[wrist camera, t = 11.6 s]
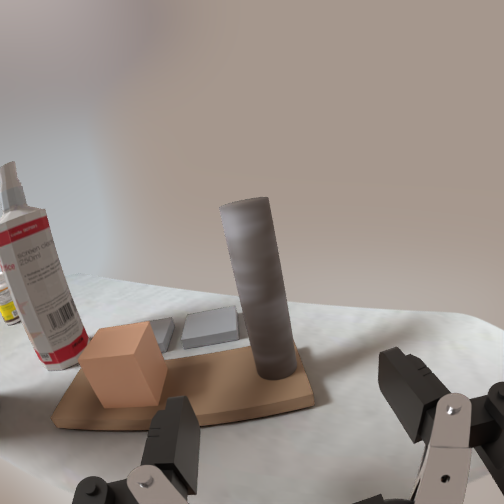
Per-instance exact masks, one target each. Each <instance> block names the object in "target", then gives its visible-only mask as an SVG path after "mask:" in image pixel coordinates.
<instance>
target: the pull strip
mask: <svg viewBox="0 0 504 504" xmlns="http://www.w3.org/2000/svg"><path fill="white" fill-rule="evenodd" d="M219 209H220V214H221V218H222V223H223V228H224V232H225V237H226V241H227V245H228V250H229V255H230V259H231V264H232V268H233V272H234V276H235V281H236V285H237V290H238V294H239V298H240V302H241V307H242V311H243V315H244V319H245V324H246V328H247V332H248V336H249V340H250V344H251V346H248V347H243V348H237V349H232V350H226V351H221V352H215V353H209V354H203V355H197V356H191V357H184V358H177V359H170V360H164V361H165V363H166V365H167V368H168V370H167V374H166V378H165V381H164V385H163V389H162V393H161V397H160V401H159V404H158V406H146V407H128V408H104V407H103V405H102V404H101V402H100V400H99V399H98V397H97V395H96V394H95V392H94V390H93V388H92V387H91V385H90V383H89V381H88V379H87V377H86V376H85V374H84V372H83V370H82V369H80V370H79V372H78V373H77V375H76V376H75V378H74V380H73V381H72V383H71V384H70V386H69V388H68V389H67V391H66V392H65V394H64V396H63V397H62V399H61V401H60V402H59V404H58V406H57V407H56V409H55V411H54V412H53V414H52V416H51V420H52V421H53V423H54V424H55V425H56V427H57V428H69V429H85V430H150V429H149V428H150V424H151V420H152V418H153V417H154V415H155V414H156V413H157V411H158V410H165V407H166V402H167V399H168V398H169V397H177V396H187V397H188V399H189V401H190V404H191V406H192V408H193V410H194V413H195V415H196V417H197V419H198V422H199V426H204V425H212V424H220V423H227V422H234V421H240V420H247V419H252V418H258V417H263V416H269V415H274V414H279V413H283V412H288V411H292V410H297V409H301V408H305V407H309V406H313V405H315V404H314V395H313V391H312V389H311V386H310V383H309V380H308V378H307V375H306V372H305V370H304V367H303V364H302V361H301V359H300V356H299V353H298V350H297V348H296V345H295V342H294V340H293V335H292V329H291V323H290V317H289V311H288V305H287V299H286V293H285V287H284V281H283V276H282V270H281V264H280V259H279V253H278V247H277V242H276V237H275V231H274V226H273V220H272V215H271V210H270V204H269V199H268V197H259V198H251V199H245V200H241V201H237V202H232V203H229V204H225V205H223V206H221V207H219Z"/></svg>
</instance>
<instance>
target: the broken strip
mask: <svg viewBox="0 0 504 504" xmlns="http://www.w3.org/2000/svg"><path fill="white" fill-rule="evenodd" d="M149 322H150V324H151V327H152V330H153V332H154V335H155V338H156V340H157V343H158V346H159V348H160V351H161V352H167V349H168V346H169V342H170V339H171V336H172V333H173V330H174V326H175V325H174V322H173V319H172V317H171V318H165V319H159V320H153V321H149ZM234 340H239V332H238V316H237V310H236V306H230V307H225V308H219V309H214V310H209V311H204V312H198V313H193V314H188V315H187V317H186V321H185V325H184V329H183V333H182V336H181V342H182V345H183V348H184V349H188V348H194V347H200V346H206V345H212V344H218V343H223V342H229V341H234Z"/></svg>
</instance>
